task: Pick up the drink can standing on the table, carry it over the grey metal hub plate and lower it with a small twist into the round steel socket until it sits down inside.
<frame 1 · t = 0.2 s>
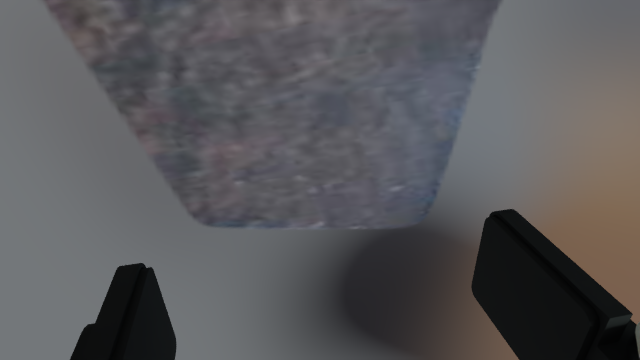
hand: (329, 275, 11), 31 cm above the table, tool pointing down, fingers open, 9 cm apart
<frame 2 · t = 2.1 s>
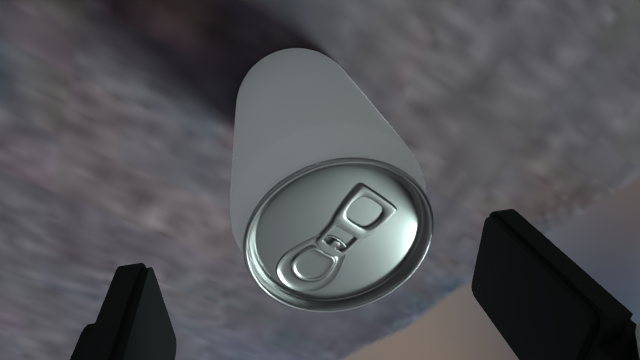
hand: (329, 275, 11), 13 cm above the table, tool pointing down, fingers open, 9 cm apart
can: (295, 105, 22), on the table
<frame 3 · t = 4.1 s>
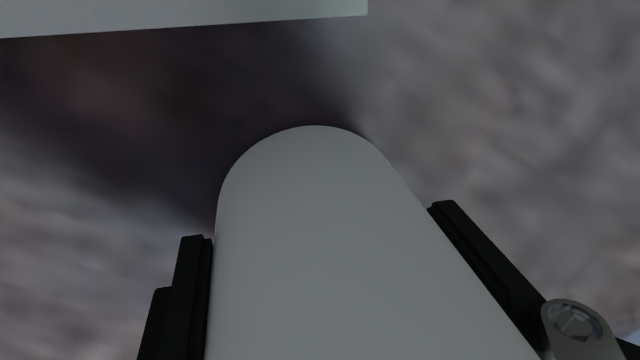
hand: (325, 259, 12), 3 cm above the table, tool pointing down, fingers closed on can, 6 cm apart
can: (307, 200, 14), on the table, touching gripper
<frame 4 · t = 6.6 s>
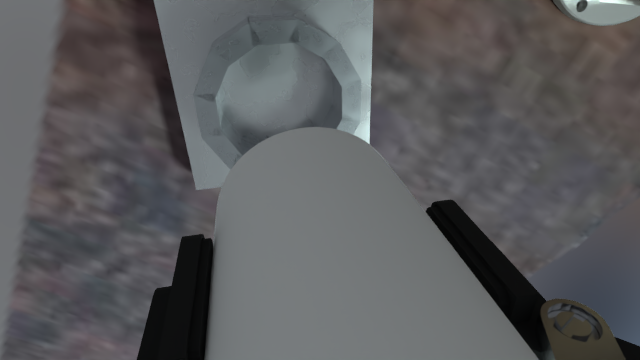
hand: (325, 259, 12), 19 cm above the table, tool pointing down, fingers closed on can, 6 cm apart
hub: (274, 86, 28), on the table
can: (306, 202, 14), point 15 cm above the table, touching gripper
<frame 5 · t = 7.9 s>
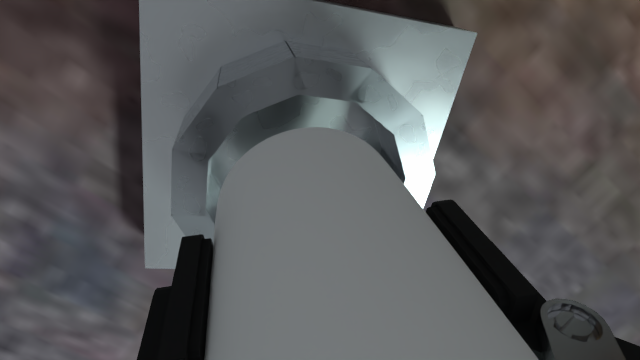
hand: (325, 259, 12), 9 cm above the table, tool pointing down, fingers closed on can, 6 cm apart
hub: (293, 142, 19), on the table
can: (306, 202, 14), point 5 cm above the table, touching gripper
when the fingers open (6 cm above the table, at t = 9.2 s): can drops 1 cm, resting on hub.
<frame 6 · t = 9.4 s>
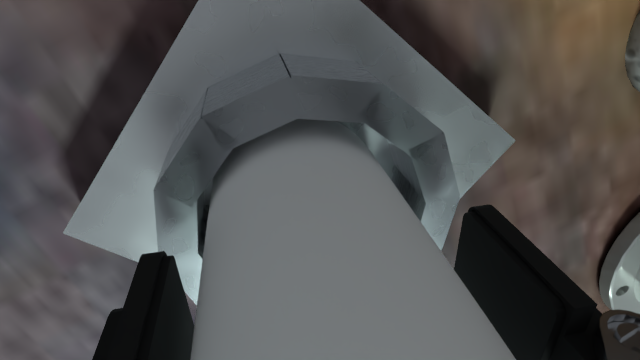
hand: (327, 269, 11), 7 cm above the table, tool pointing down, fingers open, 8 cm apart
hub: (295, 162, 17), on the table
can: (295, 184, 16), point 2 cm above the table, touching hub
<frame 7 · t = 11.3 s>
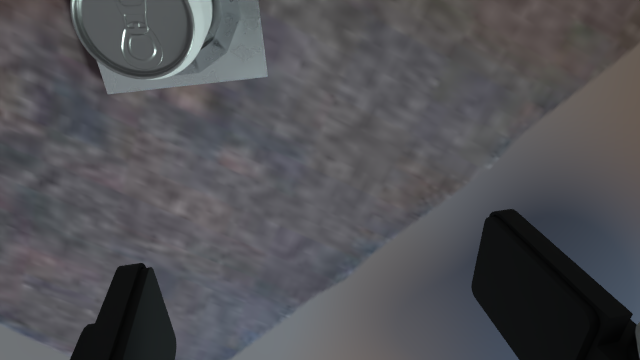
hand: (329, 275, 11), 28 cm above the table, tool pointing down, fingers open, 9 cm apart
can: (169, 3, 29), point 2 cm above the table, touching hub
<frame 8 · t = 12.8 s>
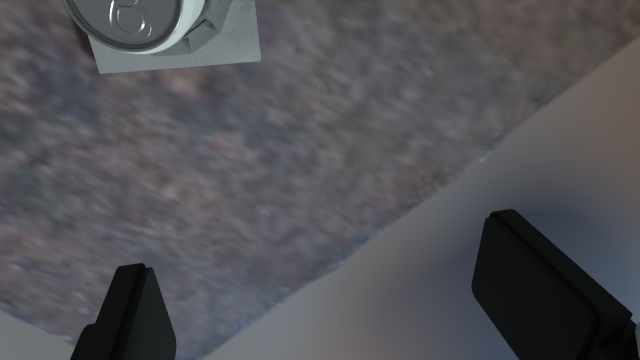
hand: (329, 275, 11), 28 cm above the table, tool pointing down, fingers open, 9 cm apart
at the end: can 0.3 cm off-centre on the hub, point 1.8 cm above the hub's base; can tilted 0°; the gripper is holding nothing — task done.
